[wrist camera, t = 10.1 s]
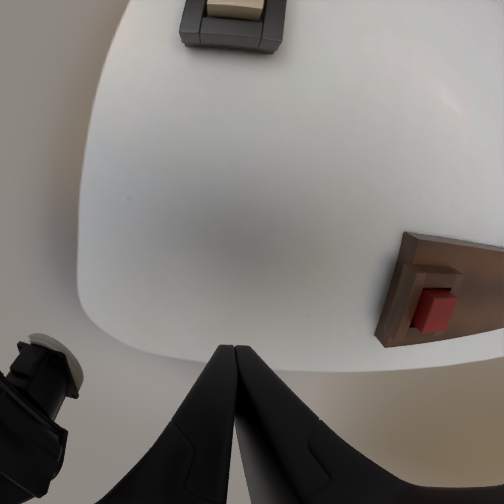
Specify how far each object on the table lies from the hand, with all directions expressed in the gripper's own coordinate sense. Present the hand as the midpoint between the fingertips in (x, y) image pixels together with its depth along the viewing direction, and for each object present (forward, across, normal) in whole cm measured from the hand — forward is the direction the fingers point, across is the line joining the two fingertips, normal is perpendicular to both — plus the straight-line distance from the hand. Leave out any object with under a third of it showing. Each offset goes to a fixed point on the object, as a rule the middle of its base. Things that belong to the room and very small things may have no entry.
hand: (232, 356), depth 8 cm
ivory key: (+10, +1, -15) cm, 18 cm away
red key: (+9, -17, +3) cm, 19 cm away
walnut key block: (+13, -26, +4) cm, 30 cm away
